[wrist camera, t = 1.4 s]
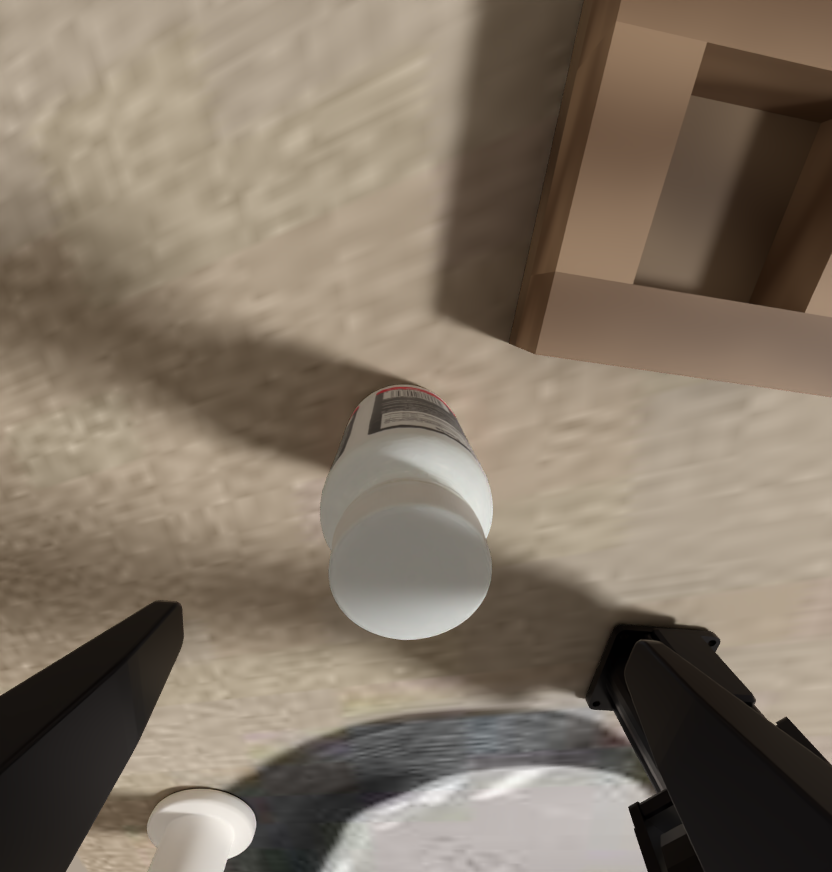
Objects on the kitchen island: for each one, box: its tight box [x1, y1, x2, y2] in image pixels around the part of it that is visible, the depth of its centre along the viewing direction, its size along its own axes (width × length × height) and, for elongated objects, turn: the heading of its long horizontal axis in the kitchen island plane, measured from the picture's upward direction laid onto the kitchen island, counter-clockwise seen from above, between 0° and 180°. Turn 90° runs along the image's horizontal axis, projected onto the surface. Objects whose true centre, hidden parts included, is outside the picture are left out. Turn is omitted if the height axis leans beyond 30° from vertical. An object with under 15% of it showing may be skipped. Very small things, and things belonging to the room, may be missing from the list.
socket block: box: [509, 0, 832, 397], centre depth 14 cm, size 12×12×4 cm
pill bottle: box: [320, 385, 493, 640], centre depth 14 cm, size 5×5×10 cm
